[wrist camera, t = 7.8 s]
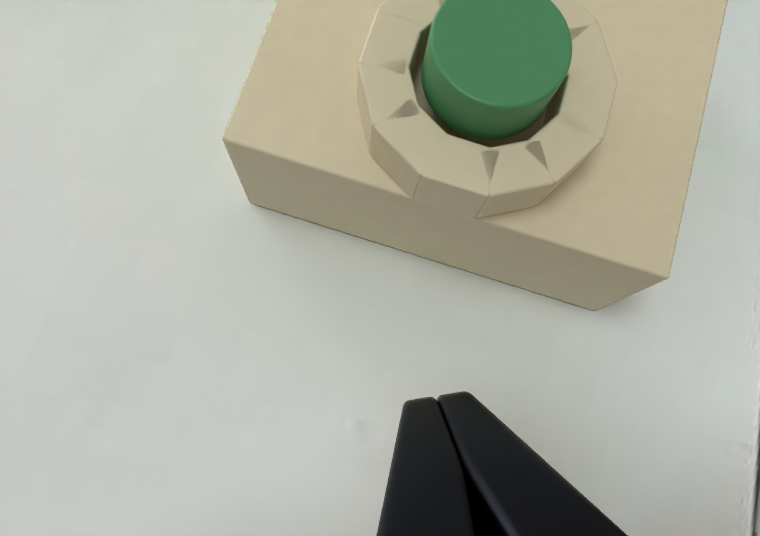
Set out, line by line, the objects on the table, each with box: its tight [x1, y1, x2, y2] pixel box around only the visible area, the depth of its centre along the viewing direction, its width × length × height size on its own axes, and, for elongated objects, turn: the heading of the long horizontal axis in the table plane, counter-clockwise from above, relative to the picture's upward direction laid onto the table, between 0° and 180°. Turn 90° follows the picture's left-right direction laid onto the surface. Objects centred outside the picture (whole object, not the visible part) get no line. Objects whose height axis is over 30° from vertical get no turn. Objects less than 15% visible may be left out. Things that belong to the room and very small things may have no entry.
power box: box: [223, 0, 728, 311], centre depth 20 cm, size 10×12×7 cm
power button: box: [421, 0, 572, 139], centre depth 16 cm, size 3×3×2 cm
